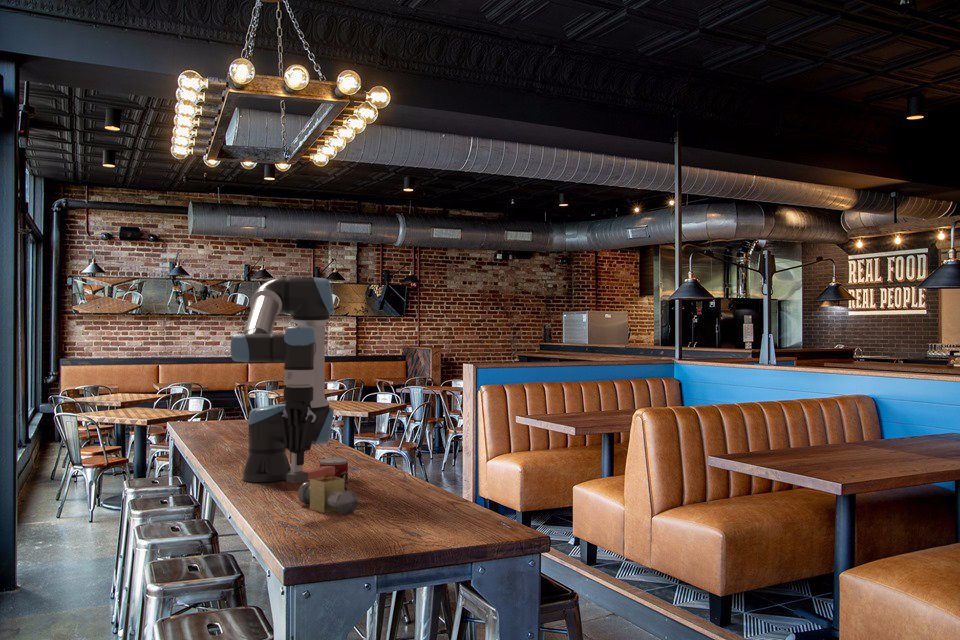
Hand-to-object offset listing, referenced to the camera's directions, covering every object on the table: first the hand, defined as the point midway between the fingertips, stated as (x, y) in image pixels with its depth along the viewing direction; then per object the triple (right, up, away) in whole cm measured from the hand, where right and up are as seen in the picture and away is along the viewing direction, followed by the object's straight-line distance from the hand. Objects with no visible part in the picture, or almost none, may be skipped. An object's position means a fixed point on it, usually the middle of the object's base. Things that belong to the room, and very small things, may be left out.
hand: (296, 477), depth 191 cm
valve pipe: (+7, -10, +5) cm, 13 cm away
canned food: (+6, -10, +17) cm, 20 cm away
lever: (+4, 0, +1) cm, 4 cm away
